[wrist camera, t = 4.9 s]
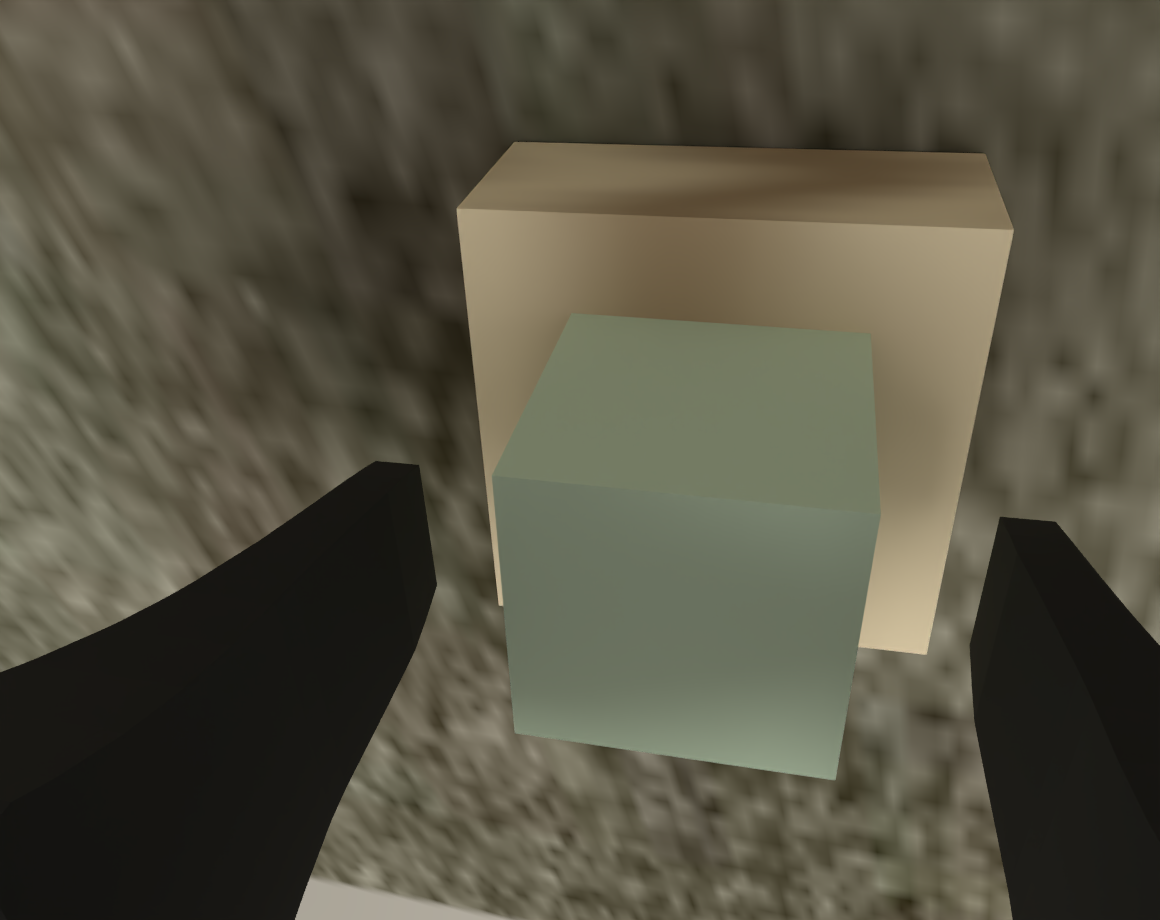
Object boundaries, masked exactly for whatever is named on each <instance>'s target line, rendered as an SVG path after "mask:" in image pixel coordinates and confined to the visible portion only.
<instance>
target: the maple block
mask: <svg viewBox="0 0 1160 920" xmlns="http://www.w3.org/2000/svg"><path fill="white" fill-rule="evenodd" d="M456 210H457V219H458V228H459V238H460V247H461V256H462V266H463V275H464V284H465V294H466V303H467V312H468V322H469V331H470V340H471V350H472V359H473V368H474V378H475V387H476V396H477V406H478V415H479V424H480V434H481V443H482V453H483V462H484V471H485V481H486V490H487V499H488V509H489V518H490V527H491V537H492V546H493V555H494V565H495V574H496V583H497V593H498V602H499V606H503V596H502V585H501V574H500V562H499V551H498V540H497V529H496V518H495V506H494V495H493V484H492V474H493V472H494V470H495V468H496V466H497V464H498V462H499V460H500V458H501V456H502V454H503V452H504V450H505V448H506V446H507V444H508V442H509V439H510V437H511V435H512V433H513V431H514V429H515V427H516V425H517V423H518V421H519V419H520V417H521V415H522V413H523V411H524V409H525V407H526V405H527V403H528V401H529V399H530V397H531V395H532V393H533V391H534V389H535V387H536V385H537V383H538V381H539V378H540V376H541V374H542V372H543V370H544V368H545V366H546V364H547V362H548V360H549V358H550V356H551V354H552V352H553V350H554V348H555V346H556V344H557V342H558V340H559V338H560V336H561V334H562V332H563V330H564V328H565V326H566V324H567V322H568V319H569V317H570V315H571V313H578V314H593V315H607V316H622V317H636V318H651V319H666V320H680V321H695V322H709V323H724V324H739V325H753V326H768V327H783V328H797V329H812V330H826V331H841V332H856V333H870V334H871V347H872V365H873V383H874V401H875V419H876V437H877V454H878V472H879V490H880V508H881V516H880V522H879V528H878V534H877V540H876V546H875V551H874V557H873V563H872V569H871V575H870V581H869V586H868V592H867V598H866V604H865V610H864V615H863V621H862V627H861V633H860V639H859V645H858V647H864V648H873V649H881V650H890V651H899V652H907V653H916V654H925V655H926V654H927V649H928V644H929V639H930V635H931V630H932V625H933V620H934V615H935V610H936V606H937V601H938V596H939V591H940V586H941V581H942V576H943V572H944V567H945V562H946V557H947V552H948V547H949V543H950V538H951V533H952V528H953V523H954V518H955V513H956V509H957V504H958V499H959V494H960V489H961V484H962V480H963V475H964V470H965V465H966V460H967V455H968V450H969V446H970V441H971V436H972V431H973V426H974V421H975V417H976V412H977V407H978V402H979V397H980V392H981V387H982V383H983V378H984V373H985V368H986V363H987V358H988V354H989V349H990V344H991V339H992V334H993V329H994V324H995V320H996V315H997V310H998V305H999V300H1000V295H1001V291H1002V286H1003V281H1004V276H1005V271H1006V266H1007V262H1008V257H1009V252H1010V247H1011V242H1012V237H1013V232H1014V229H1013V226H1012V223H1011V221H1010V218H1009V215H1008V213H1007V210H1006V207H1005V205H1004V202H1003V200H1002V197H1001V194H1000V192H999V189H998V186H997V184H996V181H995V178H994V176H993V173H992V170H991V168H990V165H989V163H988V160H987V157H986V155H985V154H982V153H942V152H902V151H862V150H822V149H782V148H742V147H702V146H662V145H622V144H582V143H542V142H514V143H513V144H512V145H511V146H510V147H509V149H508V150H507V151H506V152H505V153H504V154H503V156H502V157H501V158H500V159H499V160H498V161H497V162H496V164H495V165H494V166H493V167H492V168H491V169H490V170H489V172H488V173H487V174H486V175H485V176H484V177H483V179H482V180H481V181H480V182H479V183H478V184H477V185H476V187H475V188H474V189H473V190H472V191H471V192H470V193H469V195H468V196H467V197H466V198H465V199H464V200H463V201H462V203H461V204H460V205H459V206H458V207H457V208H456Z"/></svg>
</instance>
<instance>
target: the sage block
mask: <svg viewBox="0 0 1160 920" xmlns="http://www.w3.org/2000/svg"><path fill="white" fill-rule="evenodd" d="M492 484H493V495H494V506H495V518H496V529H497V540H498V551H499V562H500V574H501V585H502V596H503V607H504V618H505V630H506V641H507V652H508V663H509V675H510V686H511V697H512V708H513V719H514V731H515V733H518V734H524V735H531V736H538V737H545V738H552V739H558V740H565V741H572V742H579V743H585V744H592V745H599V746H606V747H613V748H619V749H626V750H633V751H640V752H646V753H653V754H660V755H667V756H674V757H680V758H687V759H694V760H701V761H707V762H714V763H721V764H728V765H735V766H741V767H748V768H755V769H762V770H768V771H775V772H782V773H789V774H796V775H802V776H809V777H816V778H823V779H829V780H835V779H836V773H837V767H838V761H839V755H840V750H841V744H842V738H843V732H844V726H845V720H846V715H847V709H848V703H849V697H850V691H851V685H852V680H853V674H854V668H855V662H856V656H857V650H858V645H859V639H860V633H861V627H862V621H863V615H864V610H865V604H866V598H867V592H868V586H869V581H870V575H871V569H872V563H873V557H874V551H875V546H876V540H877V534H878V528H879V522H880V516H881V508H880V490H879V472H878V454H877V437H876V419H875V401H874V383H873V365H872V347H871V334H870V333H856V332H841V331H826V330H812V329H797V328H783V327H768V326H753V325H739V324H724V323H709V322H695V321H680V320H666V319H651V318H636V317H622V316H607V315H593V314H578V313H571V315H570V317H569V319H568V322H567V324H566V326H565V328H564V330H563V332H562V334H561V336H560V338H559V340H558V342H557V344H556V346H555V348H554V350H553V352H552V354H551V356H550V358H549V360H548V362H547V364H546V366H545V368H544V370H543V372H542V374H541V376H540V378H539V381H538V383H537V385H536V387H535V389H534V391H533V393H532V395H531V397H530V399H529V401H528V403H527V405H526V407H525V409H524V411H523V413H522V415H521V417H520V419H519V421H518V423H517V425H516V427H515V429H514V431H513V433H512V435H511V437H510V439H509V442H508V444H507V446H506V448H505V450H504V452H503V454H502V456H501V458H500V460H499V462H498V464H497V466H496V468H495V470H494V472H493V474H492Z"/></svg>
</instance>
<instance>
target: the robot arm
mask: <svg viewBox="0 0 1160 920" xmlns="http://www.w3.org/2000/svg"><path fill="white" fill-rule="evenodd" d="M436 587H437V582H436V575H435V569H434V562H433V555H432V549H431V542H430V535H429V529H428V522H427V515H426V508H425V502H424V495H423V488H422V482H421V475H420V468H419V465H413V464H402V463H391V462H380V461H375V462H373V463H372V464H370V465H368V466H367V467H365V468H364V469H362V470H361V471H359V472H358V473H356V474H355V475H353V476H352V477H350V478H349V479H347V480H346V481H344V482H343V483H342V484H340V485H339V486H337V487H336V488H334V489H333V490H332V491H330V492H329V493H327V494H326V495H324V496H323V497H322V498H320V499H319V500H317V501H316V502H315V503H313V504H312V505H310V506H309V507H307V508H306V509H305V510H303V511H302V512H300V513H299V514H297V515H296V516H294V517H293V518H292V519H290V520H289V521H287V522H286V523H284V524H283V525H281V526H280V527H279V528H277V529H276V530H274V531H273V532H271V533H270V534H268V535H267V536H265V537H264V538H263V539H261V540H260V541H258V542H257V543H255V544H253V545H252V546H250V547H249V548H247V549H245V550H244V551H242V552H241V553H239V554H237V555H236V556H234V557H233V558H231V559H229V560H228V561H226V562H225V563H223V564H221V565H220V566H218V567H217V568H215V569H214V570H212V571H210V572H209V573H207V574H206V575H204V576H202V577H201V578H199V579H198V580H196V581H194V582H193V583H191V584H189V585H187V586H186V587H184V588H182V589H180V590H179V591H177V592H175V593H173V594H171V595H170V596H168V597H166V598H164V599H162V600H161V601H159V602H157V603H155V604H153V605H151V606H149V607H147V608H145V609H143V610H141V611H139V612H137V613H135V614H133V615H132V616H130V617H128V618H126V619H124V620H122V621H120V622H118V623H116V624H114V625H111V626H109V627H107V628H105V629H103V630H101V631H98V632H96V633H94V634H91V635H89V636H87V637H85V638H82V639H80V640H78V641H75V642H73V643H71V644H69V645H66V646H64V647H62V648H59V649H57V650H55V651H53V652H50V653H48V654H46V655H43V656H41V657H39V658H37V659H34V660H32V661H29V662H27V663H24V664H21V665H19V666H16V667H13V668H11V669H8V670H6V671H3V672H0V920H295V917H296V914H297V912H298V908H299V906H300V903H301V900H302V897H303V894H304V891H305V889H306V886H307V883H308V881H309V878H310V875H311V873H312V870H313V868H314V865H315V862H316V860H317V857H318V854H319V852H320V849H321V846H322V844H323V841H324V838H325V836H326V833H327V831H328V828H329V825H330V823H331V820H332V818H333V816H334V813H335V811H336V809H337V807H338V804H339V802H340V800H341V798H342V796H343V793H344V791H345V789H346V787H347V785H348V783H349V781H350V779H351V777H352V775H353V773H354V771H355V769H356V767H357V765H358V763H359V761H360V759H361V757H362V755H363V753H364V751H365V750H366V748H367V746H368V744H369V742H370V740H371V738H372V736H373V734H374V732H375V730H376V728H377V726H378V724H379V722H380V720H381V718H382V716H383V714H384V712H385V710H386V708H387V706H388V704H389V702H390V700H391V698H392V696H393V694H394V692H395V690H396V688H397V686H398V684H399V682H400V680H401V678H402V676H403V674H404V672H405V670H406V668H407V666H408V664H409V662H410V660H411V658H412V656H413V653H414V651H415V649H416V646H417V643H418V641H419V638H420V635H421V632H422V629H423V626H424V624H425V621H426V618H427V615H428V612H429V608H430V605H431V602H432V599H433V596H434V593H435V590H436ZM970 659H971V678H972V694H973V707H974V721H975V726H976V732H977V737H978V742H979V747H980V752H981V757H982V763H983V768H984V773H985V778H986V783H987V788H988V793H989V798H990V803H991V808H992V813H993V817H994V822H995V827H996V832H997V837H998V842H999V847H1000V852H1001V857H1002V862H1003V867H1004V872H1005V877H1006V882H1007V887H1008V892H1009V898H1010V905H1011V911H1012V917H1013V920H1160V645H1159V644H1158V643H1157V642H1156V641H1155V640H1154V639H1153V638H1152V636H1151V635H1150V634H1149V633H1148V632H1147V631H1146V630H1145V629H1144V627H1143V626H1142V625H1141V624H1140V623H1139V622H1138V621H1137V620H1136V618H1135V617H1134V616H1133V615H1132V614H1131V613H1130V611H1129V610H1128V609H1127V608H1126V607H1125V606H1124V604H1123V603H1122V602H1121V601H1120V600H1119V598H1118V597H1117V596H1116V595H1115V594H1114V592H1113V591H1112V590H1111V589H1110V588H1109V586H1108V585H1107V584H1106V583H1105V582H1104V580H1103V579H1102V578H1101V577H1100V575H1099V574H1098V573H1097V572H1096V571H1095V569H1094V568H1093V567H1092V566H1091V564H1090V563H1089V562H1088V561H1087V559H1086V558H1085V557H1084V556H1083V554H1082V553H1081V552H1080V551H1079V550H1078V548H1077V547H1076V546H1075V545H1074V543H1073V542H1072V541H1071V540H1070V538H1069V537H1068V536H1067V535H1066V534H1065V532H1064V531H1063V530H1062V529H1061V528H1060V526H1059V525H1058V524H1057V523H1056V522H1052V521H1041V520H1030V519H1018V518H1007V517H1000V519H999V524H998V528H997V532H996V536H995V541H994V545H993V549H992V553H991V557H990V562H989V566H988V570H987V574H986V579H985V583H984V587H983V591H982V595H981V600H980V604H979V608H978V612H977V617H976V621H975V625H974V629H973V633H972V638H971V642H970Z"/></svg>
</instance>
